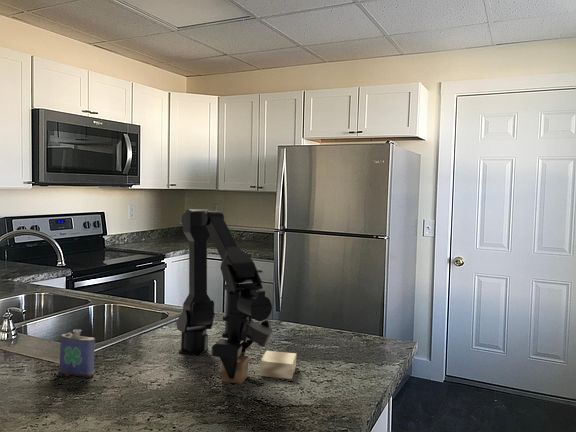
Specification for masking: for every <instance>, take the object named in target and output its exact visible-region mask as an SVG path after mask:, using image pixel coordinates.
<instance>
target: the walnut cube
mask: <svg viewBox="0 0 576 432" xmlns="http://www.w3.org/2000/svg"><path fill="white" fill-rule="evenodd" d="M249 357H250V356H249V355H245V356H242V355H241V356H240V357H239V358H238V361H237V366H236V371H235V376H234V378H233V379H230V378H229V377H228V374H227V372H226V370H225V368H224V365H223V363H222V362H221V364H222V365H221V366H222V367H221V382H226V383H233V384H239V385H242V384H243V383H244V381H246V379H247V378H248V376H249V375H248V374H249Z"/></svg>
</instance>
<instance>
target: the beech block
mask: <svg viewBox="0 0 576 432" xmlns="http://www.w3.org/2000/svg"><path fill="white" fill-rule="evenodd" d="M259 364H260V365H259V377H268V378H269V377H270V378H277V379H286V380H287V379H289V380H292V379H293V376H294V374H295V371H296V369H297V353H294V352H284V351H274V350H273V351H272V350H266V351H265V353H264V354H263V356H262V358H261V359H260V363H259Z"/></svg>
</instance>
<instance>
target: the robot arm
mask: <svg viewBox="0 0 576 432" xmlns="http://www.w3.org/2000/svg"><path fill="white" fill-rule="evenodd" d="M224 215H225V214H224V213H223V212H221V211H220V210H210V209H194V208H193V209H191V208H188V209H186V210H185V212H184V213H183V214H182V215H181V224H182V232H183V235H184V236H185V237H186V239H187V240H188V261H189V262H188V272H189V273H188V280H189V281H188V291H189V292H188V295H187V297H186V299H185V300H184V302H183V303H182V311H181V313H180V315H179V317H178V318H177V320H176V323H175V324H176V329H177V330H178V331H180V332H181V334H180V335H181V339H180V349H179V350H178V353H179V354H185V355H192V356H193V355H195V356H201V355H202V354H203V353H204V352H206V351H207V350H208V349H209V334H207V330H212V328H213V324H214V319H215V302H214V300H211V298H210V296H209V294H208V241H209V240H210V238H211V240H212V242H213V244H214V246H215V248H216V250H217V253H218V254H219V256H220V259H221V264H220V266H219V267H220V271H221V275H222V278H223V280H224V282H225V283H226V284H224V285H223V286H222V288H223V290H225V291H226V296H225V297H226V298H225V299H226V302H225V315H223V316H222V321H223V322H224V321H225V322H224V323H225V324H224V325H225V326H224V331H223V332H222V335H221V339H219V340H218V341H217V342H215V343H214V345H212V346H211V351H210V352H211V353H210V354H211V356H212V357H218V358H219V359H220V361H221V364H222V363H223V365H224V368H225V370H226V372H227V374H228V377H229V378H230V379H233V378H234V376H235V371H236V366H237V361H238V358H239V357H240V356H241V355H242V356H246V353H247V350H248V349H249V347H250V346H252V345H253V343H256V344H257V345H258V346H259V347H266V345H267V344H268V343H269V341H270V339H271V336H272V334H273V328H272V327H271V326H272V325H271V324H272V323H271V321H270V320H268V318H269V317H270V315H271V313H272V310H273V305H272V301H271V299H270V298H268V297H267V296H266V291H265V290H263V284H262V278H261V277H260V275H259V271H258V269H257V267H256V264H255V262H254V261H253V260H252V258H251V256H250V255H249V254H248V253H247V252H245V251H243V250H242V249H241V248H240V247H239V246H238V244H237V242H236V240H235V238H234V236H233V234H232V231H230V229H229V227H228V225H227V223H226V221H225V217H224Z"/></svg>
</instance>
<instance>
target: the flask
mask: <svg viewBox="0 0 576 432" xmlns="http://www.w3.org/2000/svg"><path fill="white" fill-rule="evenodd" d="M72 332H73V333H72ZM72 332H68V333H63V334H61V335H60V346H59V349H60V351H59V352H60V353H59V370H58V371H59V373H61V374H64V375H67V376H69V375H70V376H76V377H87V378H90V377H93V376H94V375H95V347H96V346H95V344H96V338H95V337H92V336H90V337H89V336H83V335H82V336H81V332H82V330H81V329H73V330H72Z"/></svg>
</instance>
